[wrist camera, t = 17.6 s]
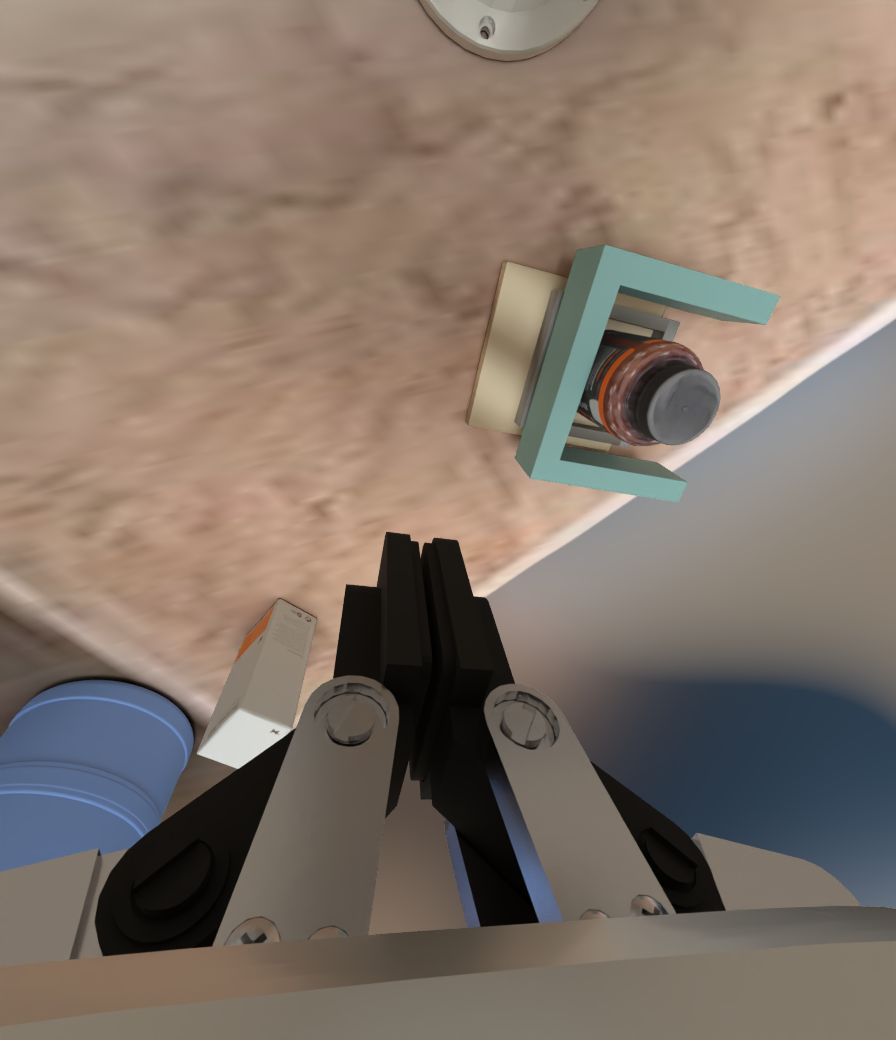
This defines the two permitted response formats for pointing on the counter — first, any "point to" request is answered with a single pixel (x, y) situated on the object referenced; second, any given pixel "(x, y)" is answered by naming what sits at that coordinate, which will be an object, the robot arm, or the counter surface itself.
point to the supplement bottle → (648, 391)
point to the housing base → (541, 350)
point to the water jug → (87, 770)
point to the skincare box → (261, 687)
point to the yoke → (577, 346)
